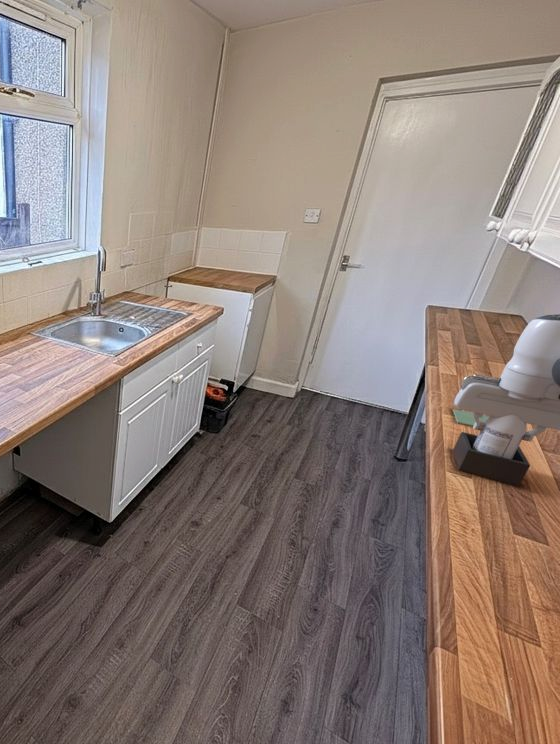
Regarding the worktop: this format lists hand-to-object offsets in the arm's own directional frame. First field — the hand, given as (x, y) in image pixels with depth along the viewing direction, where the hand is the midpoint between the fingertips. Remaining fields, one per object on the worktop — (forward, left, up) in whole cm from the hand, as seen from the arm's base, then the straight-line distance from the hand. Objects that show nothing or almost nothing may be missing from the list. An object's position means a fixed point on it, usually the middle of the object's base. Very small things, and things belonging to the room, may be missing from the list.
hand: (501, 434), depth 100 cm
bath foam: (0, 0, -10) cm, 10 cm away
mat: (-3, -31, -10) cm, 33 cm away
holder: (0, 0, -10) cm, 10 cm away
